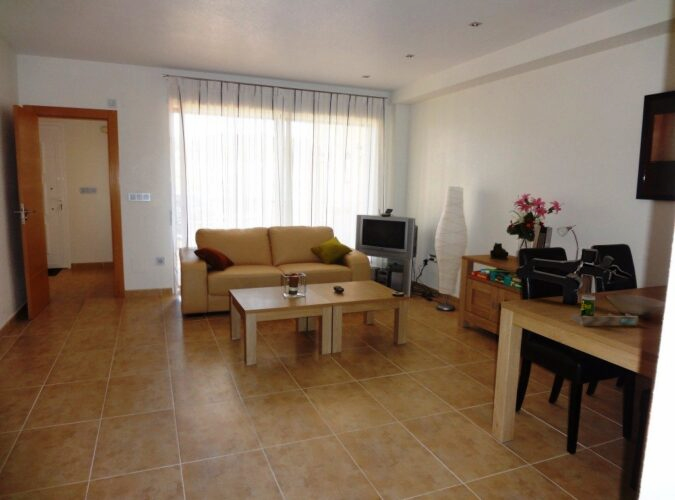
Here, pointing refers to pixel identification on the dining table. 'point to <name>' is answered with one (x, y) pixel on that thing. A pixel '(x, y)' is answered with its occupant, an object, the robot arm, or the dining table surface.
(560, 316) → the dining table surface
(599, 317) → the can rack
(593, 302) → the beer can
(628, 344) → the dining table surface
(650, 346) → the dining table surface
